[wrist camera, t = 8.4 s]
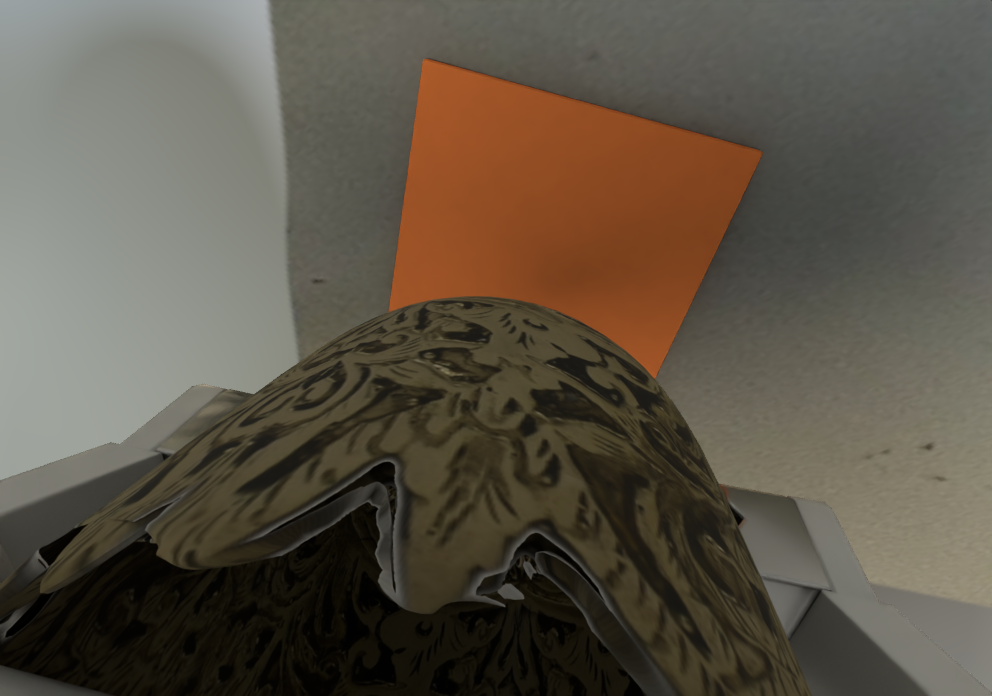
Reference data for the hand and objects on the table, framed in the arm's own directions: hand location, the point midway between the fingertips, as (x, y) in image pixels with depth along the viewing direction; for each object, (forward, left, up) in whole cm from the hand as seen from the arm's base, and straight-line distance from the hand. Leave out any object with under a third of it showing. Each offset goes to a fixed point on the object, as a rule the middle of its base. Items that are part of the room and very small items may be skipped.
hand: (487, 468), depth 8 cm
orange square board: (0, 0, -10) cm, 10 cm away
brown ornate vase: (0, 0, -3) cm, 3 cm away
